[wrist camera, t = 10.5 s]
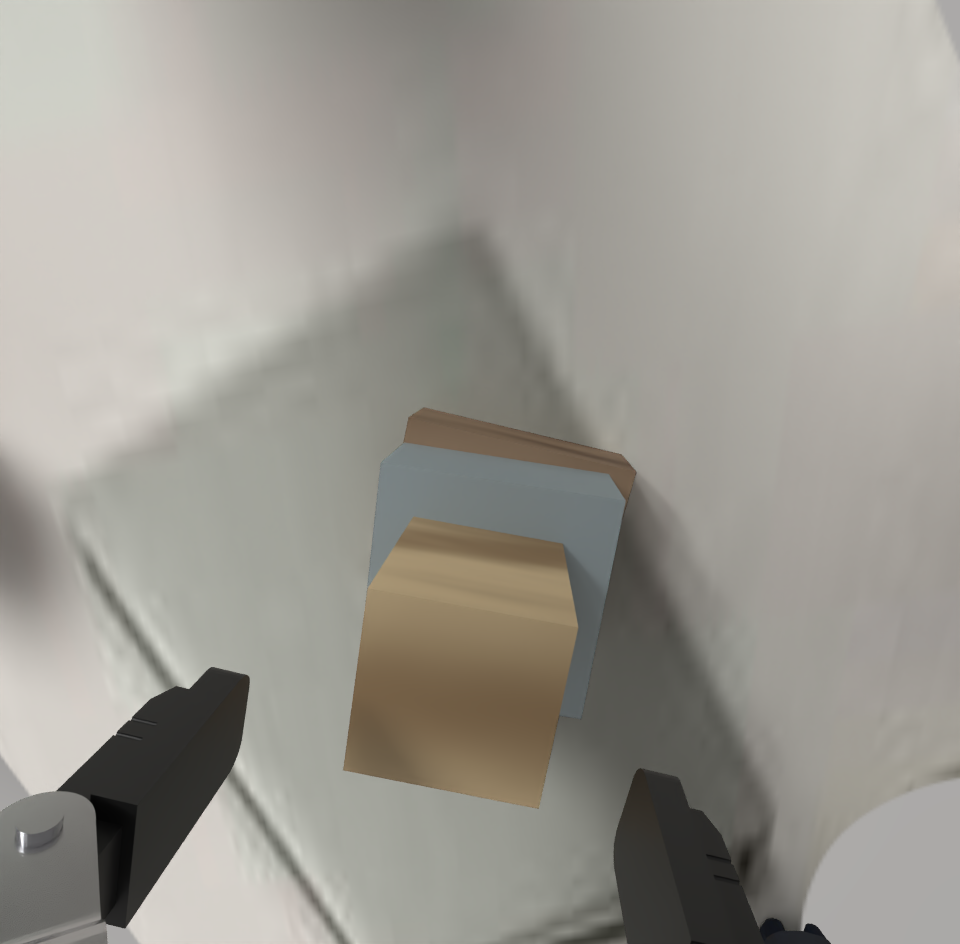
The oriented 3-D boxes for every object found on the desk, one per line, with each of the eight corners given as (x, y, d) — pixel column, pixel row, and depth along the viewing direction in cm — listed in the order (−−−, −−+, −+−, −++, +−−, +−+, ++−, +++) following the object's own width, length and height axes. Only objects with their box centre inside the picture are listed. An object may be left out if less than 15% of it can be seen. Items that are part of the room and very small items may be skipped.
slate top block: (404, 442, 24) (380, 462, 20) (608, 474, 23) (625, 500, 19) (382, 628, 25) (356, 681, 22) (572, 660, 25) (581, 719, 21)
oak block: (413, 516, 20) (367, 588, 14) (562, 543, 20) (578, 627, 14) (393, 651, 21) (343, 770, 15) (534, 678, 21) (538, 809, 15)
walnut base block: (425, 406, 27) (408, 417, 23) (620, 452, 27) (636, 472, 23) (387, 587, 29) (366, 625, 25) (568, 632, 29) (575, 677, 25)
